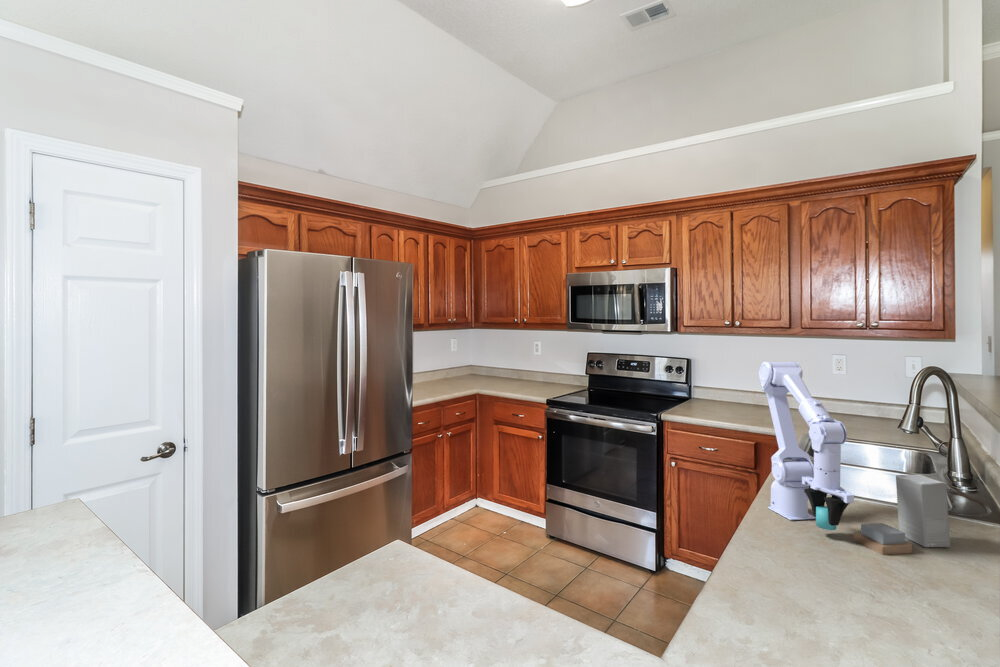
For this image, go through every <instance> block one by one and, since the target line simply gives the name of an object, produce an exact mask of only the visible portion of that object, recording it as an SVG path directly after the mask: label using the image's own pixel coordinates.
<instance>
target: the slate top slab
mask: <svg viewBox="0 0 1000 667" xmlns="http://www.w3.org/2000/svg"><path fill="white" fill-rule="evenodd" d="M860 527H861V528H860V532H861V534H862V535H864V536H866V537H868V538H870V539H872V540H875V541H877V542H879V543H881V544H883V545H886V544H900V543H905V541H906V537H905V533H904V532H902V531H900V530H899V529H897V528H896V527H892V526H890V525H888V524H886V523H885V522H884V523H883V522H874V523H872V522H871V523H862V524H860Z"/></svg>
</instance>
